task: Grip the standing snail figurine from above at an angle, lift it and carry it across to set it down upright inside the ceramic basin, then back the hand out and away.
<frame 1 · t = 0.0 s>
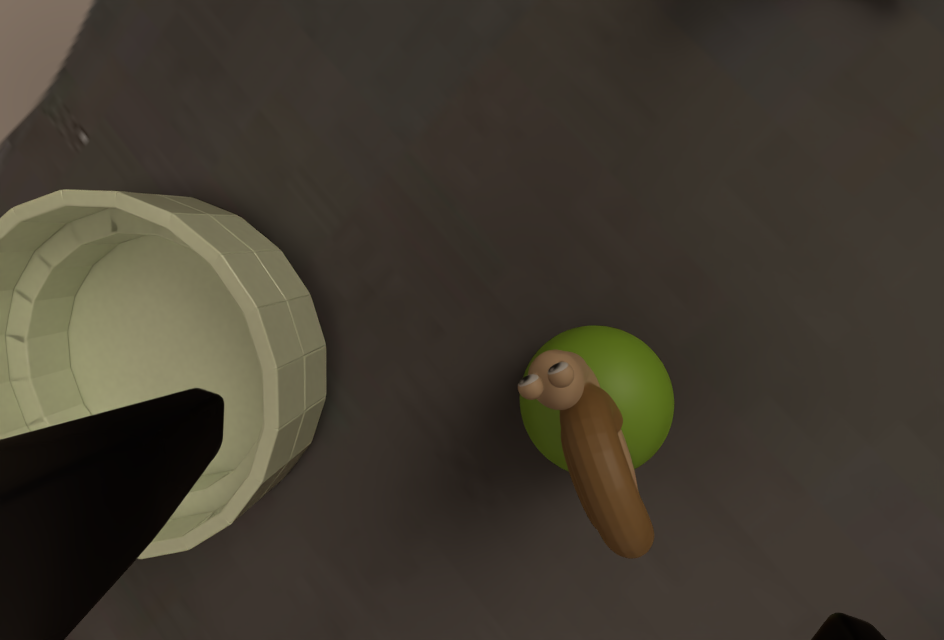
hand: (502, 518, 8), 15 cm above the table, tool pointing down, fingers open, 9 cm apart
snail figurine: (586, 368, 23), on the table
basin: (189, 354, 26), on the table
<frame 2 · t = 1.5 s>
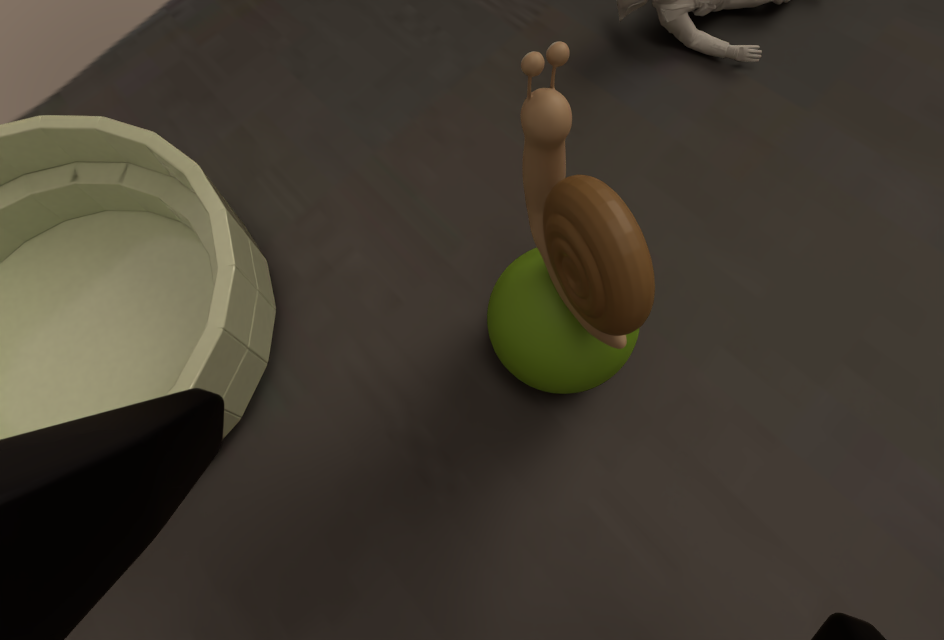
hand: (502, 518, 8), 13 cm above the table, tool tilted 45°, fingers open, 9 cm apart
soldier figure: (716, 10, 29), on the table
snail figurine: (545, 332, 23), on the table
basin: (107, 339, 23), on the table
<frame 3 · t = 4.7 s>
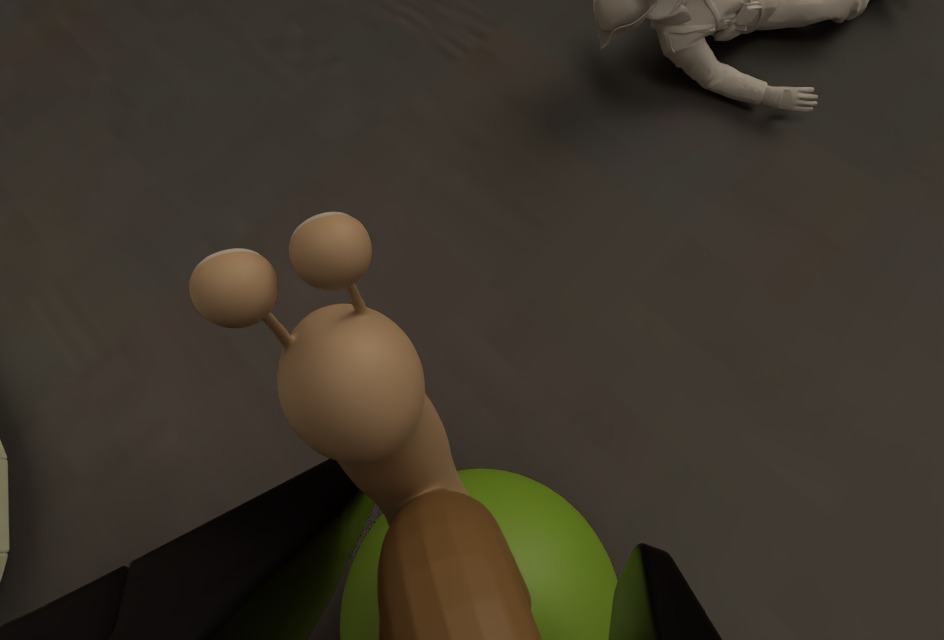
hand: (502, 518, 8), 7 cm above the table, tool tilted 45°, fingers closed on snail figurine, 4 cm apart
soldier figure: (745, 31, 20), on the table
snail figurine: (472, 574, 14), on the table, touching gripper
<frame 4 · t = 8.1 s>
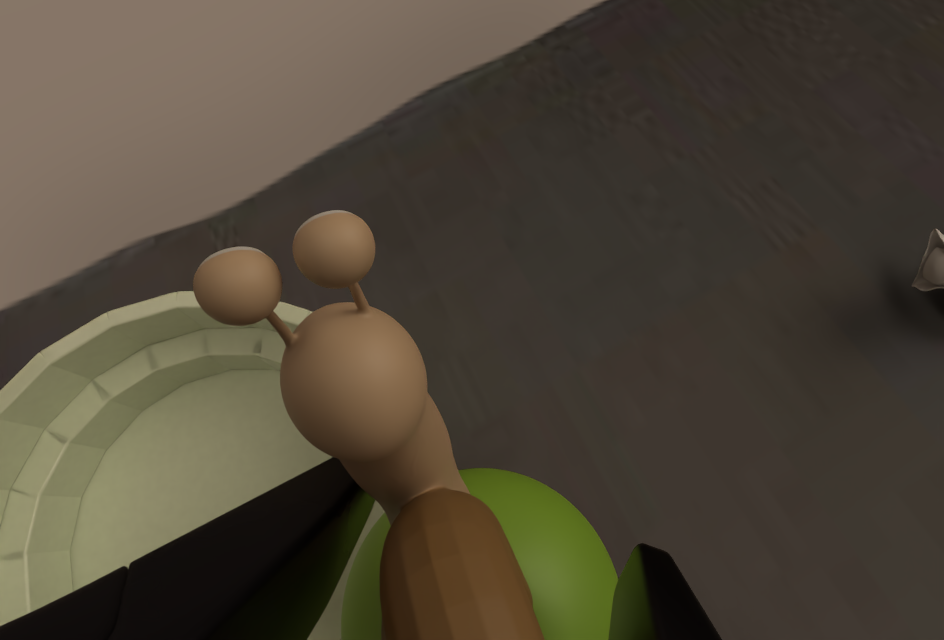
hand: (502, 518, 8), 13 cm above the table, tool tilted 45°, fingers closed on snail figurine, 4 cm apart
snail figurine: (472, 574, 14), point 6 cm above the table, touching gripper
basin: (242, 522, 21), on the table
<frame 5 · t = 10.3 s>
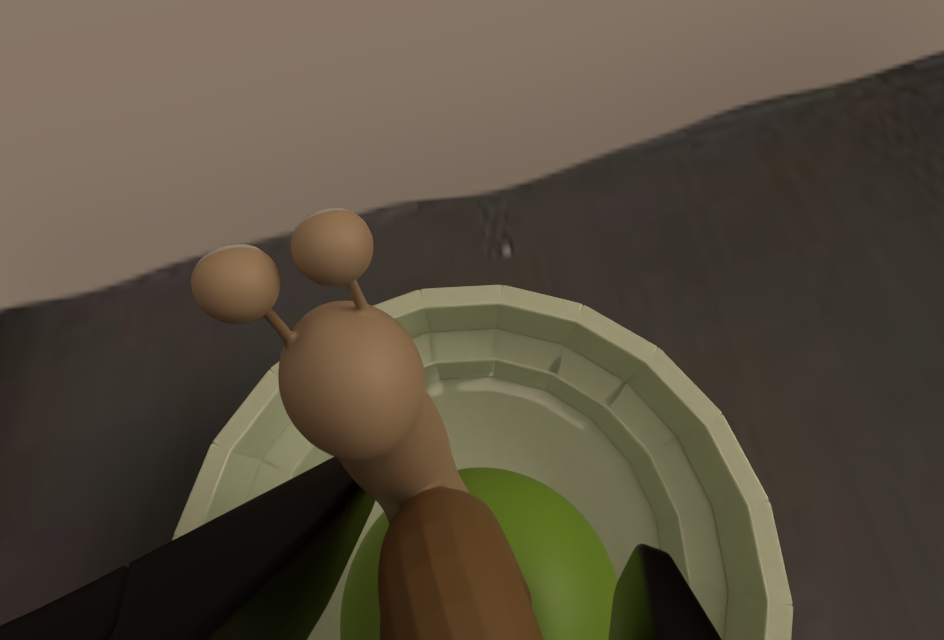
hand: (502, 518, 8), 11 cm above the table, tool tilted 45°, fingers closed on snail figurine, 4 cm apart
snail figurine: (472, 573, 14), point 4 cm above the table, touching gripper
basin: (476, 556, 18), on the table
when the fingers open (7 cm above the table, at t = 11.6 s): snail figurine stays where it is, resting on basin.
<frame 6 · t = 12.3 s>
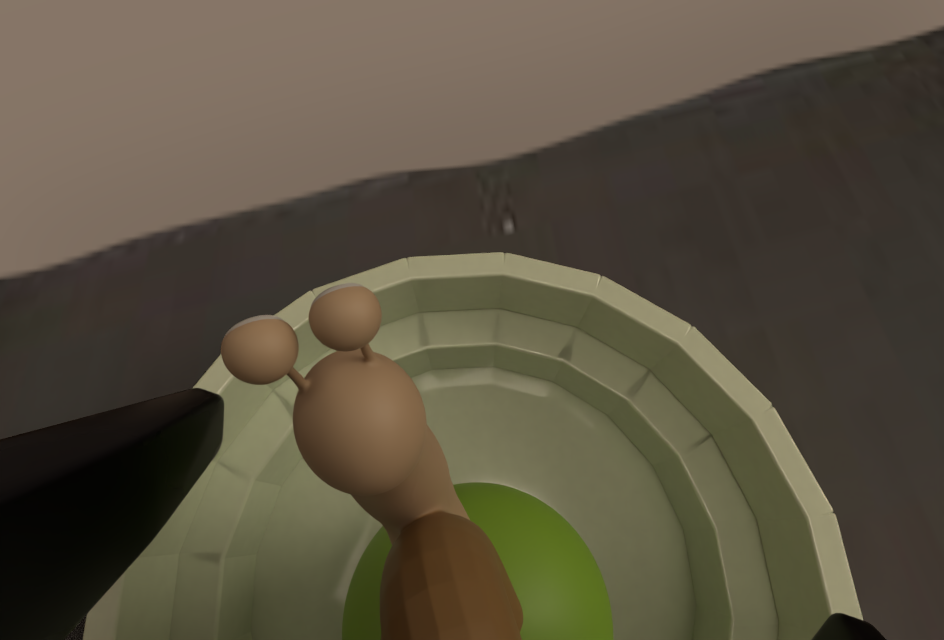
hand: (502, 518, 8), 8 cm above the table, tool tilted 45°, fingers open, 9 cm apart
snail figurine: (469, 582, 14), point 1 cm above the table, touching basin
basin: (473, 576, 15), on the table
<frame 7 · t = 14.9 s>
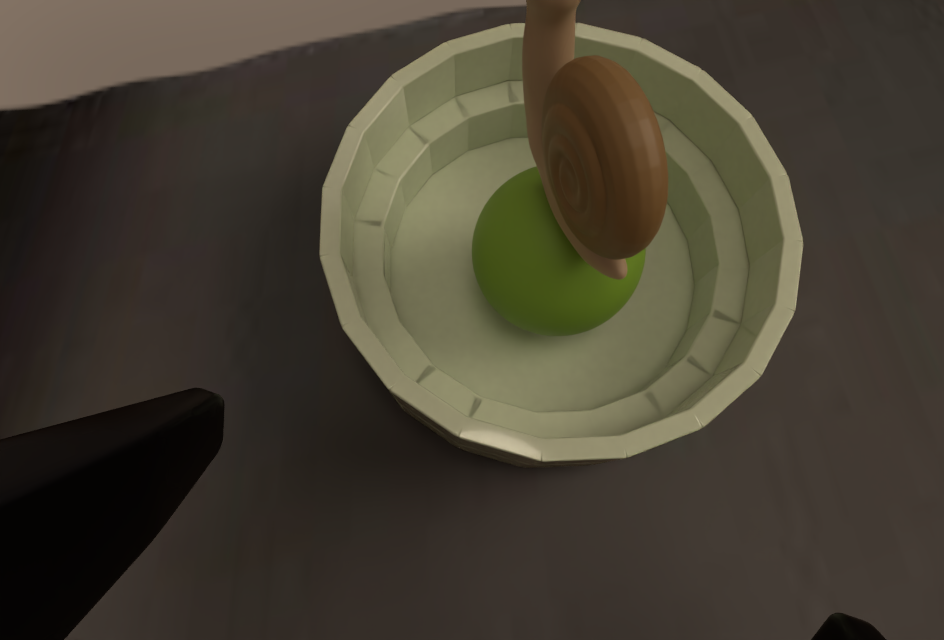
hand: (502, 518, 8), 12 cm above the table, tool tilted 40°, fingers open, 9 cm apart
snail figurine: (538, 271, 21), point 1 cm above the table, touching basin
basin: (539, 275, 21), on the table
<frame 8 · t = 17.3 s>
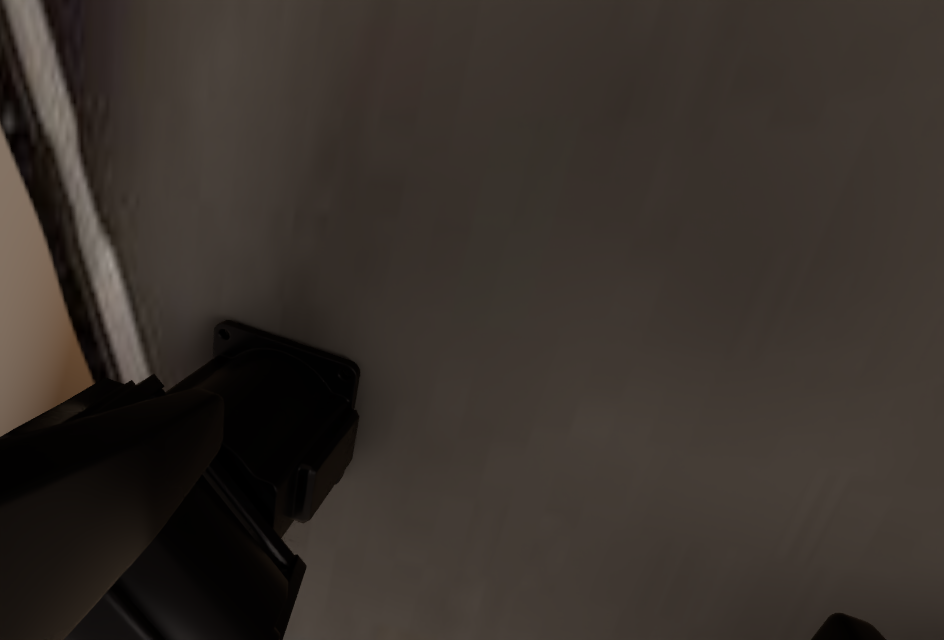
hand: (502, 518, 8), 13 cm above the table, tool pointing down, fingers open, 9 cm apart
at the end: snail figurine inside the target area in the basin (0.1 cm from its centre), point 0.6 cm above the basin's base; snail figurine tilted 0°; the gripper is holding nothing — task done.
